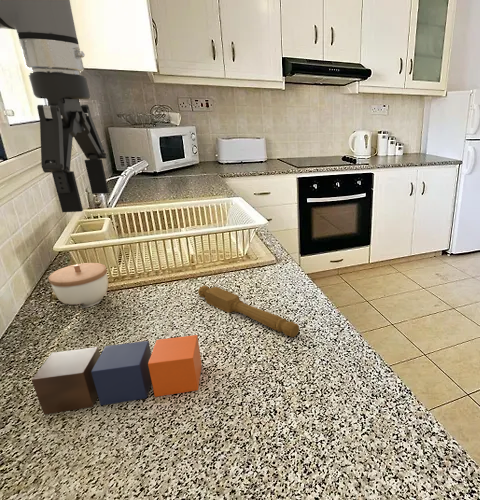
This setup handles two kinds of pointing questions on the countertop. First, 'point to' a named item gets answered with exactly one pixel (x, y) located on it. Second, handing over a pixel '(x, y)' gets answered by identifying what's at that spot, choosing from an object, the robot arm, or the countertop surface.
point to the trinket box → (80, 284)
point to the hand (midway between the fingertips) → (88, 201)
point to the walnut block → (67, 380)
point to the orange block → (175, 365)
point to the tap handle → (246, 310)
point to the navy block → (123, 373)
